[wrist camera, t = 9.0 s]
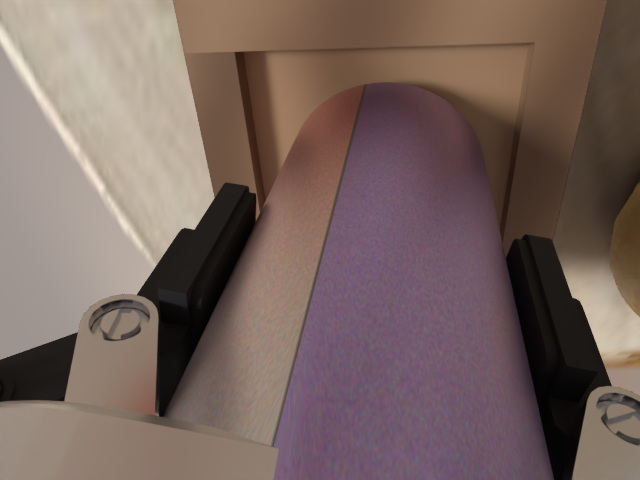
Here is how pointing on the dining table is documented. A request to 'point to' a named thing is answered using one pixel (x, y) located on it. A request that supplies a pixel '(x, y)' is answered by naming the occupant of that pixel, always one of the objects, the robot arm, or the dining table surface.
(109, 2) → the dining table surface
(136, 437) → the robot arm
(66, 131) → the dining table surface
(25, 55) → the dining table surface
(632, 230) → the onion
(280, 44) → the walnut box
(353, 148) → the beverage can
